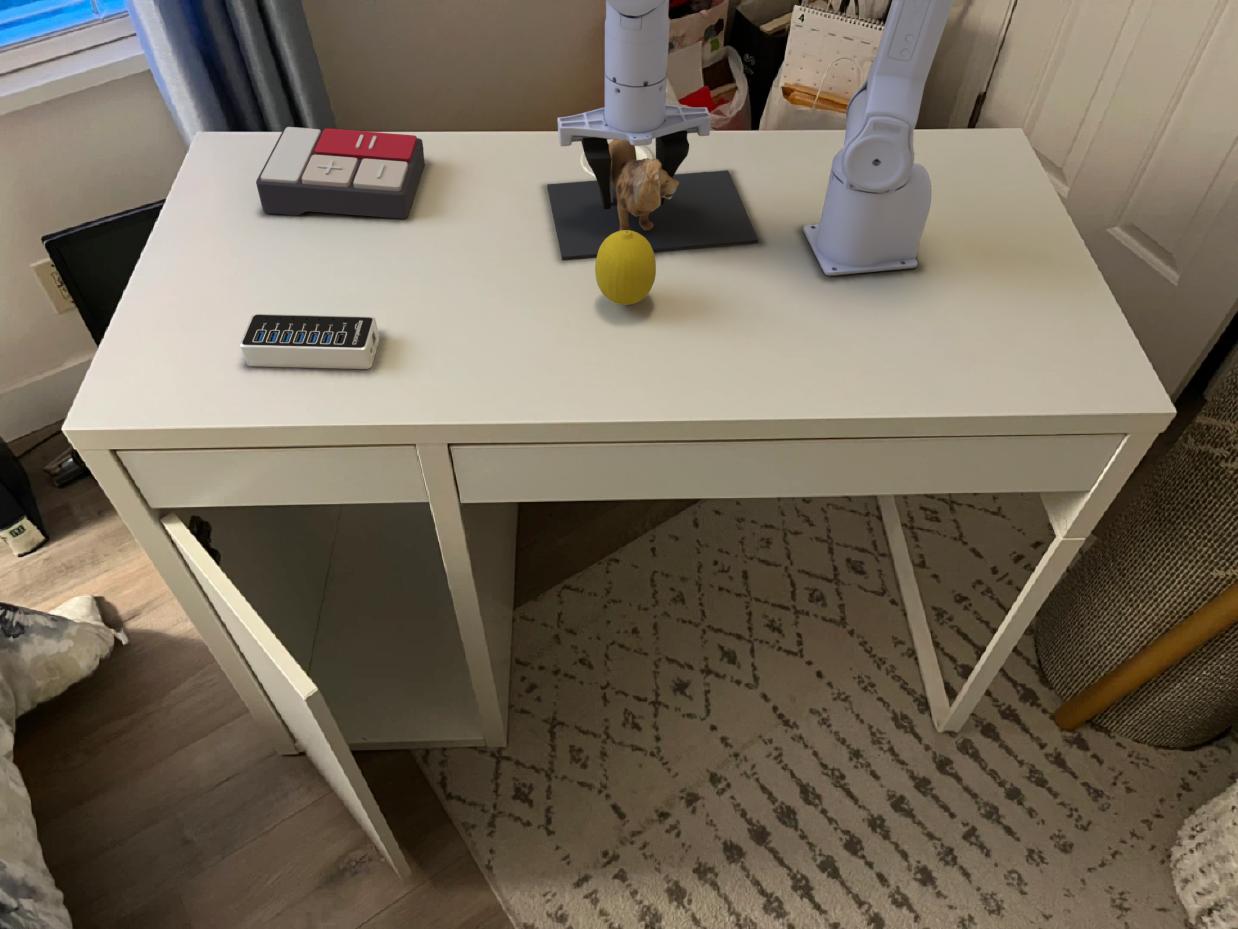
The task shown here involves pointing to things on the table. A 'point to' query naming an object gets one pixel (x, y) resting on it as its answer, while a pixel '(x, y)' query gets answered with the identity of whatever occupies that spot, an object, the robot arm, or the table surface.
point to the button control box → (341, 173)
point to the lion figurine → (637, 184)
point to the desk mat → (654, 216)
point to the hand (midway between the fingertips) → (632, 201)
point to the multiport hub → (310, 341)
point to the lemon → (625, 267)
